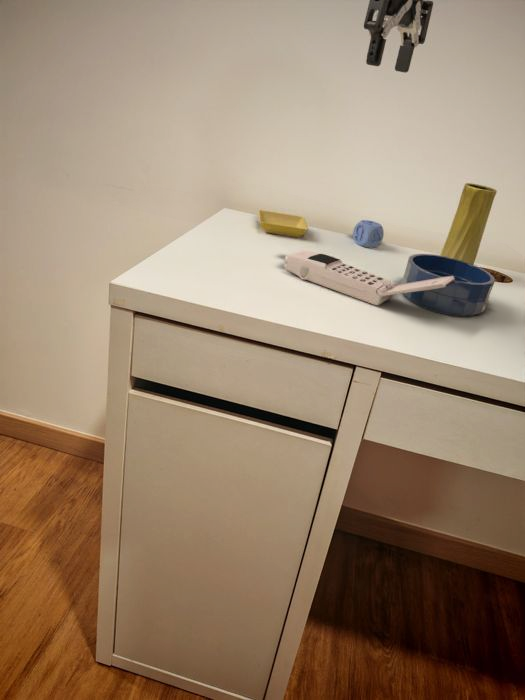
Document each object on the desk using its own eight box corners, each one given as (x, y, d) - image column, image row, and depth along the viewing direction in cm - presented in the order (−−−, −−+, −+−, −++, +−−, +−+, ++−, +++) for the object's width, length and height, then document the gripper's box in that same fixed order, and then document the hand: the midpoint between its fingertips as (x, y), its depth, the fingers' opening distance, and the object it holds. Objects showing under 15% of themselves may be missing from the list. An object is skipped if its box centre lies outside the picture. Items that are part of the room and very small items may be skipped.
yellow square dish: (306, 240, 103) (308, 229, 102) (257, 233, 102) (259, 221, 101) (302, 227, 110) (304, 216, 109) (256, 220, 110) (258, 209, 109)
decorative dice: (380, 247, 107) (386, 226, 105) (365, 248, 105) (370, 226, 103) (365, 240, 110) (371, 219, 108) (350, 241, 107) (355, 219, 106)
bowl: (492, 305, 88) (503, 274, 86) (469, 325, 78) (481, 291, 76) (416, 279, 93) (425, 249, 91) (386, 295, 84) (395, 262, 82)
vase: (431, 261, 105) (456, 180, 98) (463, 265, 106) (489, 185, 99) (444, 272, 99) (471, 188, 93) (477, 277, 100) (506, 193, 94)
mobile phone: (445, 285, 73) (276, 228, 83) (430, 328, 75) (268, 267, 86) (457, 276, 77) (296, 223, 88) (443, 317, 80) (288, 261, 90)
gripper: (415, -68, 77) (383, 67, 84) (461, -42, 87) (429, 77, 94) (368, -69, 81) (342, 60, 88) (417, -44, 91) (390, 70, 98)
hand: (387, 68), depth 91 cm, fingers open, 8 cm apart
